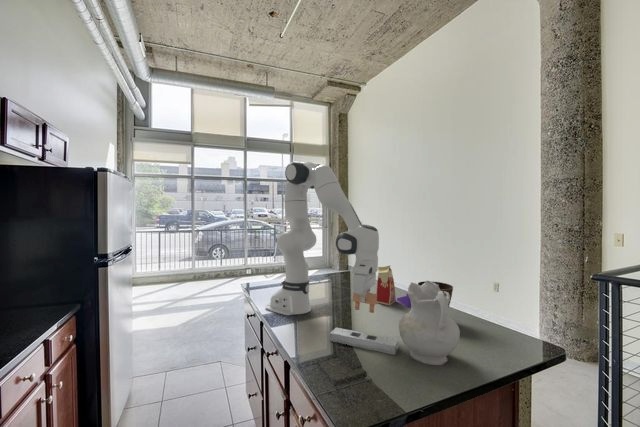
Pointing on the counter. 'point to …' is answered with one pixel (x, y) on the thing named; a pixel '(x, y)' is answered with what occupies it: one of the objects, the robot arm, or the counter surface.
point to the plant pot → (442, 288)
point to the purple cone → (405, 300)
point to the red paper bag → (385, 286)
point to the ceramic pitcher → (429, 325)
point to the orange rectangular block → (370, 300)
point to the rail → (364, 340)
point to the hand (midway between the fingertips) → (364, 300)
